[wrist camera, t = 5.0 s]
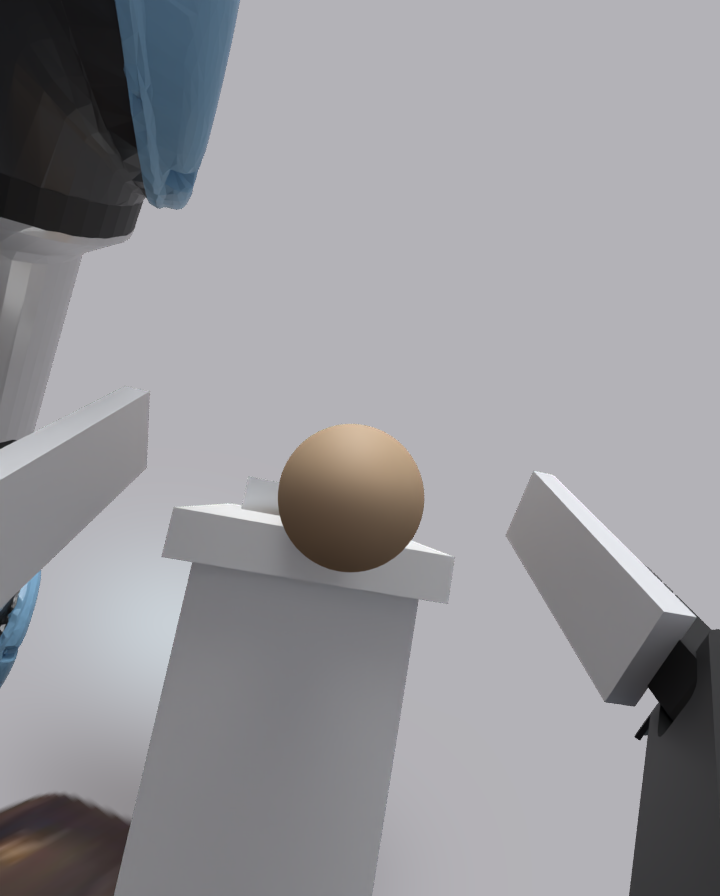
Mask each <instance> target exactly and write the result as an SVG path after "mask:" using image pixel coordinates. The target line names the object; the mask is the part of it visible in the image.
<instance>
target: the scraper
mask: <svg viewBox="0 0 720 896" xmlns="http://www.w3.org/2000/svg"><path fill="white" fill-rule="evenodd" d="M423 508H424V488H423V482H422V478H421V475H420V472H419V470H418V467H417V465H416V463H415V461H414V460H413V458H412V456H411V455H410V454H409V452H408V451H407V450H406V448H404V446H403V445H401V444H400V443H399V442H398V441H397V440H396V439H395V438H393V437H392V436H390V435H388V434H386V433H385V432H383V431H381V430H379V429H376V428H373V427H370V426H366V425H359V424H344V425H336V426H332V427H329V428H326V429H324V430H321V431H319V432H317V433H316V434H314V435H312V436H310V437H309V438H308V439H306V440H305V441H304V442H303V443H302V444H301V445H300V446H299V447H298V448H297V449H296V450H295V451H294V452H293V454H292V455H291V457H290V458H289V460H288V461H287V463H286V465H285V467H284V470H283V472H282V475H281V478H280V482H274V481H269V480H264V479H258V478H253V477H248V480H247V485H246V489H245V494H244V498H243V503H242V507H241V509H245V510H250V511H256V512H261V513H267V514H272V515H278V516H280V518H281V522H282V525H283V527H284V529H285V532H286V533H287V535H288V537H289V539H290V540H291V542H292V543H293V544H294V545H295V547H296V548H297V549H298V550H299V551H300V552H301V553H302V554H303V555H304V556H306V557H307V558H308V559H310V560H311V561H313V562H314V563H316V564H318V565H320V566H322V567H325V568H327V569H331V570H335V571H339V572H362V571H367V570H371V569H374V568H377V567H379V566H381V565H384V564H386V563H387V562H389V561H390V560H392V559H394V558H395V557H396V556H397V555H398V554H400V553H401V552H402V551H403V550H404V549H405V547H406V546H407V545H408V544H409V543H410V541H411V540H412V538H413V537H414V535H415V533H416V531H417V529H418V527H419V524H420V521H421V518H422V514H423Z"/></svg>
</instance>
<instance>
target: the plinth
mask: <svg viewBox="0 0 720 896" xmlns="http://www.w3.org/2000/svg"><path fill="white" fill-rule="evenodd" d="M241 507H242V505H237V504H231V503H229V504H214V505H198V506H183V507H174V509H173V512H172V516H171V520H170V524H169V529H168V533H167V537H166V541H165V545H164V549H163V553H162V557H165V558H171V559H177V560H183V561H190V562H192V566H191V570H190V574H189V579H188V584H187V587H186V591H185V596H184V600H183V604H182V608H181V613H180V617H179V621H178V625H177V630H176V634H175V639H174V643H173V647H172V651H171V656H170V660H169V664H168V668H167V673H166V677H165V681H164V685H163V689H162V694H161V698H160V702H159V706H158V711H157V715H156V719H155V723H154V728H153V732H152V736H151V740H150V745H149V749H148V753H147V757H146V762H145V766H144V771H143V774H142V779H141V783H140V787H139V792H138V796H137V800H136V804H135V809H134V813H133V817H132V821H131V825H130V830H129V834H128V838H127V842H126V847H125V851H124V855H123V859H122V864H121V868H120V872H119V876H118V881H117V885H116V889H115V893H114V896H372V892H373V886H374V880H375V873H376V867H377V860H378V853H379V847H380V841H381V835H382V829H383V822H384V816H385V810H386V803H387V797H388V790H389V784H390V778H391V771H392V765H393V759H394V752H395V746H396V739H397V733H398V727H399V721H400V714H401V708H402V701H403V695H404V689H405V682H406V676H407V669H408V663H409V657H410V651H411V644H412V638H413V631H414V625H415V619H416V612H417V606H418V600H419V599H421V600H426V601H433V602H439V603H445V604H448V600H449V593H450V586H451V580H452V572H453V566H454V559H455V557H453V556H451V555H448V554H445V553H443V552H440V551H438V550H435V549H432V548H430V547H427V546H424V545H422V544H419V543H417V542H414V541H412V540H411V541H410V543H409V544H408V545H407V546H406V547H405V549H404V550H403V551H402V552H401V553H400V554H398V555H397V556H396V557H395V558H394V559H392V560H390V561H389V562H387V563H386V564H384V565H381V566H379V567H377V568H374V569H371V570H367V571H362V572H339V571H335V570H331V569H327V568H325V567H322V566H320V565H318V564H316V563H314V562H313V561H311V560H310V559H308V558H307V557H306V556H304V555H303V554H302V553H301V552H300V551H299V550H298V549H297V548H296V547H295V545H294V544H293V543H292V542H291V540H290V539H289V537H288V535H287V533H286V532H285V529H284V527H283V525H282V522H281V518H280V516H278V515H272V514H267V513H261V512H256V511H250V510H245V509H241Z"/></svg>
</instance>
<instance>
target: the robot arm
mask: <svg viewBox="0 0 720 896" xmlns="http://www.w3.org/2000/svg"><path fill="white" fill-rule="evenodd" d="M239 3H240V0H0V687H1V686H2V684H3V683H4V681H5V679H6V678H7V676H8V674H9V672H10V670H11V668H12V666H13V664H14V662H15V659H16V656H17V652H18V647H19V646H20V645H21V643H22V641H23V639H24V637H25V635H26V632H27V629H28V627H29V624H30V621H31V617H32V614H33V611H34V607H35V603H36V600H37V596H38V590H39V586H40V579H41V569H42V568H43V567H44V566H45V565H46V564H47V563H48V562H49V561H50V560H51V559H52V558H54V557H55V556H56V555H57V553H59V552H60V551H61V550H62V549H63V548H64V547H65V546H66V545H67V544H68V543H69V542H70V541H71V540H72V539H73V538H74V537H75V536H76V535H77V534H78V533H79V532H81V530H83V529H84V528H85V527H86V526H87V525H88V524H89V523H90V522H91V521H92V520H93V519H94V518H95V517H96V516H97V515H98V514H99V513H100V512H101V511H102V510H103V509H104V508H105V507H106V506H108V504H110V503H111V502H112V501H113V500H114V499H115V498H116V497H117V496H118V495H119V494H120V493H121V492H122V491H123V490H124V489H125V488H126V487H127V486H128V485H129V484H130V483H131V482H132V481H133V480H135V478H137V477H138V476H139V475H140V474H141V473H142V472H143V471H144V470H145V469H146V468H147V446H148V445H147V444H148V420H149V396H150V392H149V391H146V390H141V389H136V388H131V387H127V386H124V387H122V388H120V389H118V390H117V391H114V392H112V393H110V394H108V395H106V396H104V397H102V398H100V399H98V400H97V401H94V402H92V403H90V404H89V405H86V406H84V407H83V408H81V409H79V410H77V411H75V412H73V413H71V414H69V415H67V416H65V417H63V418H61V419H59V420H57V421H55V422H53V423H51V424H49V425H47V426H45V427H43V428H41V429H39V430H37V431H35V432H34V429H35V426H36V422H37V418H38V415H39V411H40V407H41V404H42V400H43V396H44V393H45V389H46V385H47V382H48V378H49V374H50V371H51V367H52V363H53V359H54V356H55V352H56V349H57V345H58V341H59V338H60V334H61V331H62V327H63V323H64V320H65V316H66V312H67V309H68V305H69V302H70V298H71V295H72V291H73V287H74V284H75V280H76V276H77V273H78V269H79V266H80V262H81V258H82V255H83V254H84V253H86V252H90V251H93V250H97V249H100V248H104V247H108V246H111V245H115V244H119V243H122V242H124V241H126V240H128V239H129V238H130V237H131V235H132V233H133V231H134V228H135V224H136V221H137V218H138V215H139V212H140V209H141V206H142V203H143V200H144V199H145V197H146V198H147V199H148V201H149V203H150V204H151V205H153V206H155V207H156V208H163V207H167V208H171V209H176V210H177V209H182V208H183V207H184V206H185V205H186V204H187V202H188V201H189V199H190V197H191V194H192V191H193V186H194V183H195V180H196V176H197V172H198V169H199V167H200V164H201V161H202V158H203V156H204V154H205V151H206V147H207V144H208V140H209V136H210V132H211V128H212V125H213V121H214V117H215V113H216V108H217V104H218V100H219V96H220V92H221V88H222V83H223V79H224V74H225V70H226V66H227V61H228V57H229V52H230V48H231V43H232V38H233V33H234V28H235V23H236V18H237V13H238V8H239ZM506 537H507V538H508V540H509V542H510V543H511V545H512V547H513V549H514V550H515V552H516V554H517V555H518V557H519V559H520V560H521V562H522V564H523V565H524V567H525V569H526V570H527V572H528V574H529V575H530V577H531V579H532V580H533V582H534V584H535V585H536V587H537V589H538V591H539V592H540V594H541V595H542V597H543V599H544V601H545V602H546V604H547V606H548V607H549V609H550V611H551V612H552V614H553V616H554V618H555V619H556V621H557V622H558V624H559V626H560V628H561V629H562V631H563V632H564V634H565V636H566V637H567V639H568V641H569V643H570V644H571V646H572V648H573V649H574V651H575V653H576V655H577V656H578V658H579V660H580V661H581V663H582V665H583V666H584V668H585V670H586V671H587V673H588V675H589V676H590V678H591V680H592V681H593V683H594V685H595V687H596V688H597V690H598V692H599V693H600V695H601V697H602V698H603V700H604V702H607V703H614V704H622V705H628V706H636V704H637V703H638V701H639V700H640V698H641V697H642V696H643V694H644V693H645V691H646V690H647V688H649V689H650V690H651V692H652V693H653V694H654V696H655V697H656V699H657V700H658V702H659V703H658V704H657V705H656V707H655V708H654V710H653V711H652V712H651V714H650V715H649V716H648V718H647V719H646V721H645V722H644V723H643V725H642V727H640V729H639V730H638V732H637V733H636V735H635V738H637V739H638V740H641V738H642V737H643V735H648V739H647V748H646V757H645V766H644V774H643V783H642V791H641V799H640V808H639V816H638V825H637V834H636V842H635V850H634V860H633V868H632V876H631V885H630V893H629V896H720V630H719V629H716V630H711V629H710V628H709V627H708V626H707V625H706V624H705V623H704V622H703V621H702V620H701V619H700V618H699V617H698V616H697V615H696V614H695V613H694V612H693V611H692V610H691V609H690V608H689V607H688V606H687V605H686V604H685V603H684V602H683V601H682V600H681V599H680V598H679V597H678V596H676V595H674V594H673V591H672V590H670V588H668V587H667V586H666V585H665V584H663V583H662V581H661V580H660V579H659V578H658V577H657V576H656V575H655V574H654V573H653V572H652V571H651V570H650V569H649V568H648V567H647V566H645V565H644V564H643V563H642V562H641V561H640V560H639V559H638V558H637V557H636V556H635V555H634V554H633V553H632V552H631V551H630V550H629V549H628V548H627V547H626V546H625V545H623V543H621V541H620V540H619V539H618V538H617V537H615V535H613V534H612V532H610V531H609V530H608V529H607V528H606V527H605V526H604V525H603V524H602V523H601V522H600V521H599V520H598V519H597V518H596V517H595V516H594V515H593V514H592V513H591V512H590V511H589V510H588V509H587V508H586V507H585V506H584V505H583V504H582V503H581V502H580V501H579V500H578V499H577V498H576V497H575V496H574V495H573V494H572V493H571V492H570V491H569V490H568V489H567V488H566V487H565V486H564V485H563V484H562V483H561V482H560V481H559V480H558V479H557V478H556V477H555V476H554V475H551V474H546V473H541V472H536V471H533V473H532V475H531V478H530V480H529V482H528V485H527V487H526V489H525V492H524V494H523V496H522V499H521V501H520V503H519V506H518V508H517V510H516V513H515V515H514V517H513V520H512V522H511V524H510V527H509V529H508V531H507V534H506Z"/></svg>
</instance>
